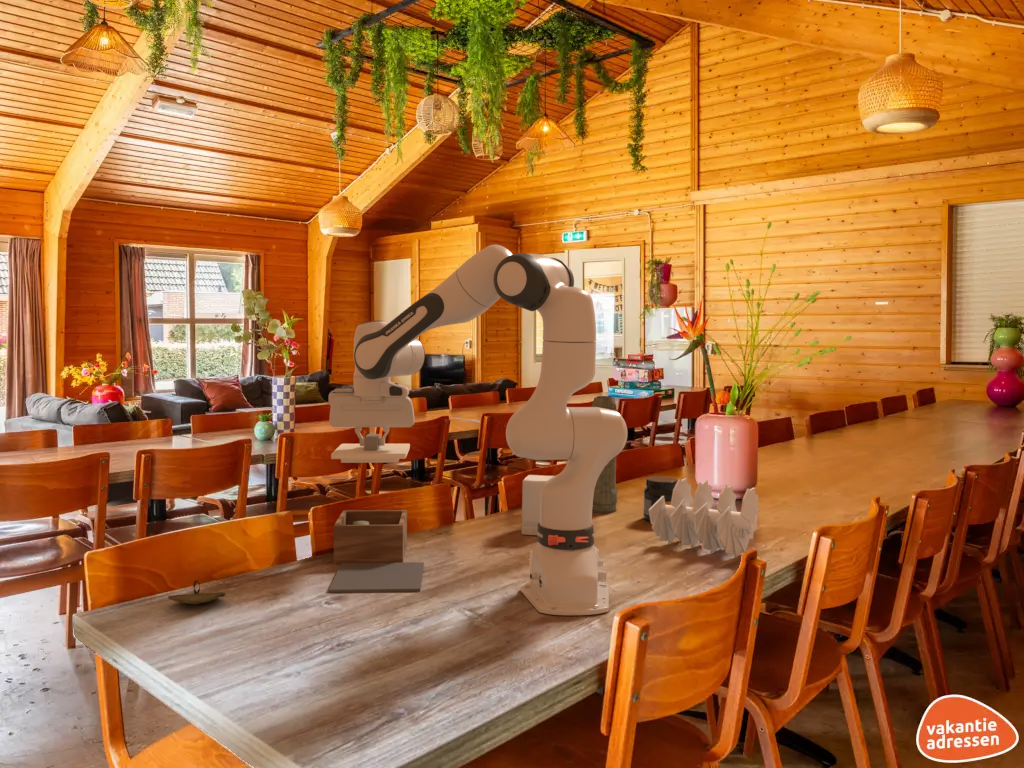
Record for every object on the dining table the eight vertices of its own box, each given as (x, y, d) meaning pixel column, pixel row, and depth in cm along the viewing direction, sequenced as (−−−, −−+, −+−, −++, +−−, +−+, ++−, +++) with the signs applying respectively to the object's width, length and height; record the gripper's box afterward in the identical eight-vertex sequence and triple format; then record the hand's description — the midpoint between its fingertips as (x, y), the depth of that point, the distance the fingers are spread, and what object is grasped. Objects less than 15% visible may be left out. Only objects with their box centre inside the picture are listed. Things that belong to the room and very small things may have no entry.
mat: (420, 591, 167) (420, 588, 167) (328, 592, 166) (328, 589, 166) (423, 564, 186) (423, 562, 186) (341, 565, 185) (341, 563, 185)
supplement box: (553, 537, 213) (554, 481, 212) (520, 535, 214) (521, 480, 213) (558, 529, 221) (559, 475, 220) (527, 527, 223) (527, 474, 222)
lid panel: (405, 463, 185) (405, 440, 185) (331, 464, 184) (331, 440, 183) (409, 452, 202) (409, 431, 202) (341, 453, 201) (341, 431, 200)
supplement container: (686, 522, 231) (687, 481, 230) (655, 525, 227) (656, 483, 226) (666, 514, 240) (667, 475, 239) (636, 517, 236) (637, 477, 236)
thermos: (612, 515, 238) (614, 398, 236) (578, 509, 245) (580, 396, 243) (626, 510, 245) (628, 396, 243) (593, 504, 252) (595, 394, 250)
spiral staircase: (669, 553, 213) (761, 566, 197) (640, 537, 200) (736, 549, 184) (681, 487, 218) (771, 495, 203) (653, 467, 205) (747, 474, 190)
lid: (165, 617, 151) (164, 591, 151) (171, 600, 161) (170, 576, 160) (224, 612, 154) (224, 586, 154) (226, 595, 164) (226, 571, 163)
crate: (402, 563, 188) (402, 525, 187) (333, 563, 186) (333, 525, 186) (406, 544, 203) (406, 510, 203) (343, 545, 202) (343, 510, 202)
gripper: (326, 389, 188) (326, 447, 189) (413, 389, 189) (413, 447, 190) (330, 387, 194) (330, 443, 195) (415, 387, 196) (415, 443, 196)
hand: (372, 445), depth 193 cm, fingers closed on lid panel, 3 cm apart
